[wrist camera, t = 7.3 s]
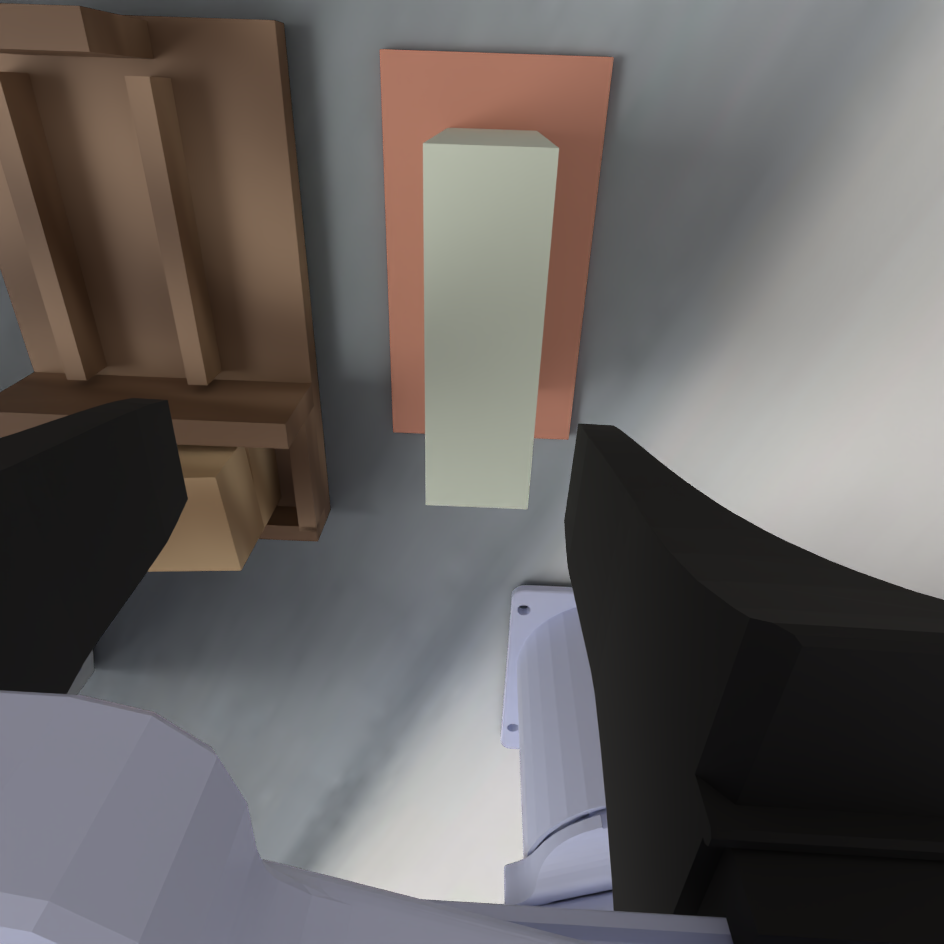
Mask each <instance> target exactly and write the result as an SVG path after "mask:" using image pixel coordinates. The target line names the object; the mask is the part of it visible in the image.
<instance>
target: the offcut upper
mask: <svg viewBox="0 0 944 944" xmlns="http://www.w3.org/2000/svg"><path fill="white" fill-rule="evenodd" d="M177 448H178V453H179V457H180V462H181V467H182V472H183V477H184V482H185V487H186V492H187V497H188V500H187V502H186V504H185V507H184V509H183V511H182V513H181V515H180V518H179V520H178V522H177V524H176V526H175V528H174V530H173V532H172V534H171V536H170V538H169V540H168V542H167V543H166V545H165V546H164V548H163V549H162V551H161V552H160V554H159V555H158V557H157V558H156V560H155V561H154V563H153V564H152V566H151V567H150V568H149V570H148V571H147V572H156V571H241V570H242V568H243V566H244V565H245V563H246V561H247V559H248V557H249V555H250V553H251V552H252V550H253V548H254V546H255V544H256V542H257V540H258V539H259V537H260V535H261V533H262V531H263V529H264V524H263V520H262V516H261V512H260V508H259V503H258V499H257V495H256V491H255V487H254V483H253V479H252V475H251V471H250V467H249V463H248V458H247V454H246V450H245V447H226V446H202V445H178V444H177Z"/></svg>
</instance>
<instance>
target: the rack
mask: <svg viewBox="0 0 944 944" xmlns="http://www.w3.org/2000/svg"><path fill="white" fill-rule="evenodd" d="M0 269H1V272H2V275H3V278H4V282H5V285H6V288H7V291H8V294H9V297H10V300H11V303H12V306H13V309H14V312H15V315H16V318H17V321H18V324H19V327H20V330H21V333H22V336H23V339H24V342H25V345H26V348H27V351H28V354H29V357H30V360H31V363H32V366H33V369H34V373H32V374H30V375H29V376H27V377H25V378H24V379H22V380H20V381H19V382H17V383H15V384H14V385H12V386H10V387H8V388H7V389H5V390H3V391H2V392H0V437H5V436H8V435H11V434H15V433H18V432H21V431H23V430H26V429H29V428H32V427H35V426H38V425H41V424H44V423H47V422H50V421H53V420H56V419H59V418H62V417H65V416H68V415H71V414H74V413H77V412H80V411H83V410H86V409H90V408H93V407H96V406H99V405H103V404H106V403H110V402H114V401H118V400H123V399H129V398H144V399H161V400H168V404H169V409H170V413H171V418H172V423H173V428H174V433H175V438H176V443H177V444H178V445H202V446H226V447H250V448H274V449H275V455H276V462H277V469H278V476H279V483H280V490H281V499H280V500H279V502H278V504H277V506H276V508H275V510H274V512H273V513H272V515H271V517H270V519H269V521H268V523H267V525H266V526H265V528H264V530H263V532H262V533H261V535H260V537H259V539H273V540H297V541H318V540H319V537H320V535H321V532H322V530H323V527H324V525H325V522H326V520H327V517H328V515H329V512H330V510H331V509H330V498H329V488H328V477H327V467H326V457H325V446H324V436H323V425H322V415H321V405H320V394H319V384H318V373H317V363H316V353H315V342H314V332H313V321H312V311H311V301H310V290H309V280H308V269H307V259H306V248H305V238H304V228H303V217H302V207H301V196H300V186H299V176H298V165H297V155H296V144H295V134H294V124H293V113H292V103H291V92H290V82H289V71H288V61H287V51H286V40H285V30H284V23H281V22H278V21H275V20H252V19H222V18H192V17H162V16H132V15H118V14H114V13H109V12H105V11H100V10H95V9H91V8H86V7H82V6H66V5H36V4H6V3H0Z"/></svg>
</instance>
